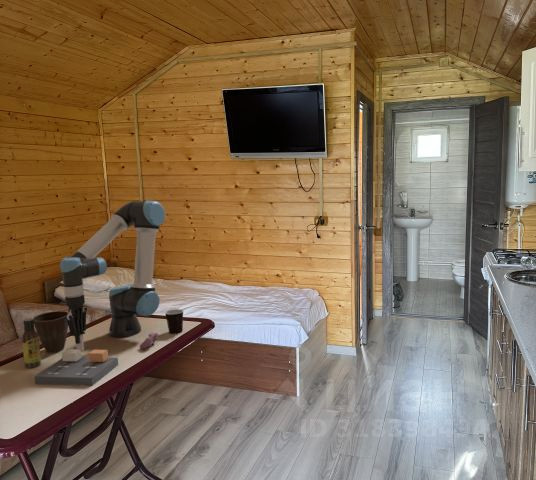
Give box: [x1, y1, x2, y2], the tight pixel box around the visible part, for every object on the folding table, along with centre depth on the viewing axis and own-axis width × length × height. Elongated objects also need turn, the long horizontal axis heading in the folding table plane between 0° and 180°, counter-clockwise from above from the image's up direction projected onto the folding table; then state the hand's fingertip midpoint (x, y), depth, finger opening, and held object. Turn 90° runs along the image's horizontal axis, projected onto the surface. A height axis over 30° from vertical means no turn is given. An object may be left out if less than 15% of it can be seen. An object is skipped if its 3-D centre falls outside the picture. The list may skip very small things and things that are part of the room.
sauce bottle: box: [21, 317, 42, 369], centre depth 211 cm, size 6×6×20 cm
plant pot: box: [33, 310, 69, 354], centre depth 229 cm, size 15×15×16 cm
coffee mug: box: [164, 308, 184, 335], centre depth 244 cm, size 12×9×10 cm
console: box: [34, 356, 119, 386], centre depth 200 cm, size 20×24×3 cm
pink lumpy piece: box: [139, 332, 160, 350], centre depth 228 cm, size 10×5×7 cm, turn 169°
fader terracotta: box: [88, 349, 109, 362], centre depth 205 cm, size 4×6×4 cm, turn 79°
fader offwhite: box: [61, 348, 83, 361], centre depth 207 cm, size 4×6×4 cm, turn 79°
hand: (80, 349), depth 213 cm, fingers closed
